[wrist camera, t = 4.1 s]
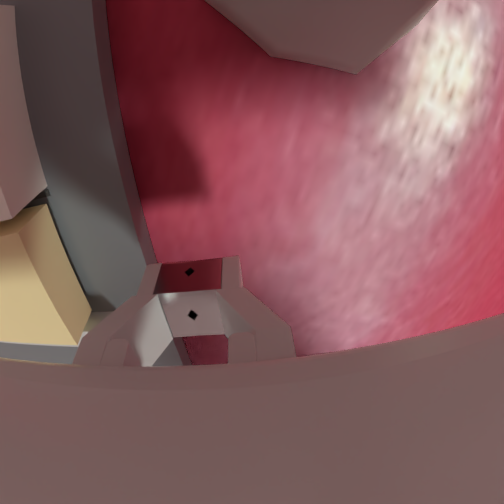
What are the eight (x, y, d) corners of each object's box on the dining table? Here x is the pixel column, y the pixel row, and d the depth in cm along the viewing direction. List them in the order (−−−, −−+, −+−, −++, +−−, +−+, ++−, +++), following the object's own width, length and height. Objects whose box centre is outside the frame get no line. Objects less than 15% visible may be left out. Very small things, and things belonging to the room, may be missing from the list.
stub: (46, 203, 9) (18, 232, 8) (92, 309, 12) (77, 345, 11) (-43, 227, 9) (-68, 252, 8) (1, 311, 12) (-16, 339, 11)
